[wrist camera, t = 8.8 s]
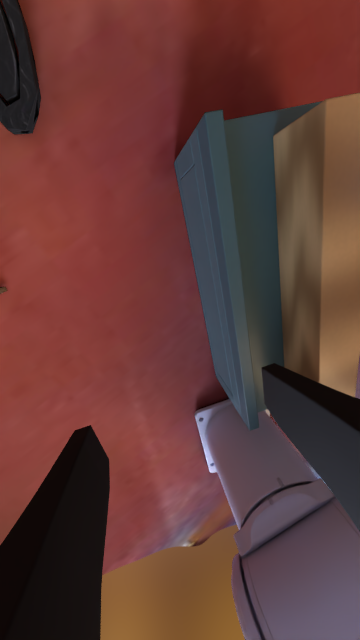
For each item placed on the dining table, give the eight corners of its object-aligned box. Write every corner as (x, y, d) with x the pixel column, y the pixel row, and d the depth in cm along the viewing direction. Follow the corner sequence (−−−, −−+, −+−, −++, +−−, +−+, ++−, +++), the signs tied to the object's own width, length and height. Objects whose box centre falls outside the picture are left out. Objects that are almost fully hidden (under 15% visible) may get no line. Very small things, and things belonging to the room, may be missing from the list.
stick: (315, 381, 17) (353, 411, 14) (285, 392, 17) (317, 425, 14) (320, 125, 11) (389, 86, 8) (272, 135, 11) (325, 98, 8)
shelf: (298, 349, 23) (359, 391, 17) (215, 377, 22) (249, 431, 16) (294, 136, 16) (396, 75, 10) (173, 162, 15) (204, 112, 9)
